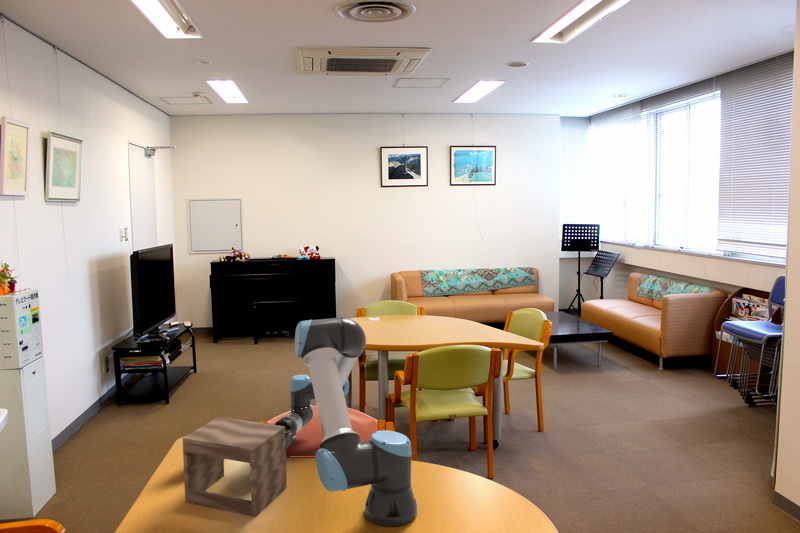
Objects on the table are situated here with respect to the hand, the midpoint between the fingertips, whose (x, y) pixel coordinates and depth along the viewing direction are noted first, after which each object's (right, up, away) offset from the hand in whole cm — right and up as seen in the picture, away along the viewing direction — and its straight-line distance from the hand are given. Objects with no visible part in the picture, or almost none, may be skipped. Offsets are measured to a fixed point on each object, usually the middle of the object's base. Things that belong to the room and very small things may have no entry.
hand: (251, 453), depth 176 cm
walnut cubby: (-2, -10, -7) cm, 13 cm away
